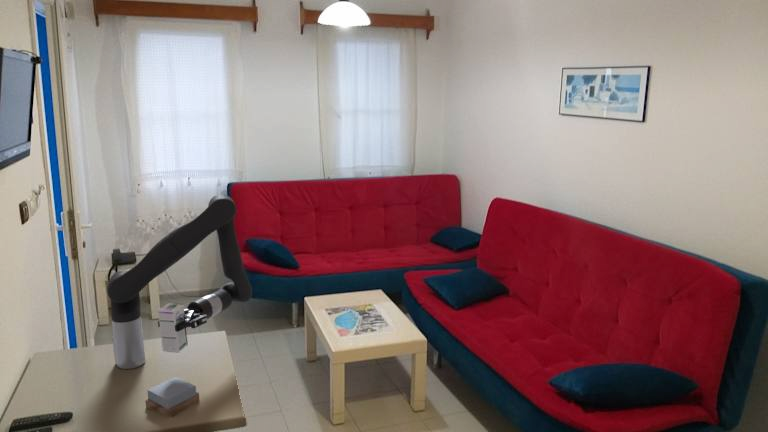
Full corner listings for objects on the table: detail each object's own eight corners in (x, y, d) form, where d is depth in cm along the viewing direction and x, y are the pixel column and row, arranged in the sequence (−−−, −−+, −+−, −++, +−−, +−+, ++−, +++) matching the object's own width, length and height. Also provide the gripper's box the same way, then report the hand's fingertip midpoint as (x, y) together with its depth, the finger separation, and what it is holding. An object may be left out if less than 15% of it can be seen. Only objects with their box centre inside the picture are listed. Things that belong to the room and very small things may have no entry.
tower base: (146, 409, 180) (145, 400, 179) (174, 392, 189) (173, 384, 189) (172, 419, 175) (171, 409, 174) (199, 401, 184) (198, 392, 184)
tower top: (148, 398, 180) (147, 389, 179) (176, 385, 188) (175, 376, 187) (168, 409, 174) (167, 400, 174) (196, 394, 182) (195, 386, 182)
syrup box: (179, 353, 186) (175, 310, 183) (161, 351, 187) (157, 309, 184) (188, 345, 192) (184, 303, 188) (171, 343, 193) (167, 302, 189)
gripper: (188, 294, 202) (149, 311, 187) (220, 301, 195) (183, 319, 181) (190, 314, 204) (152, 333, 189) (222, 322, 197) (185, 342, 183)
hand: (167, 326), depth 185 cm, fingers closed on syrup box, 6 cm apart
